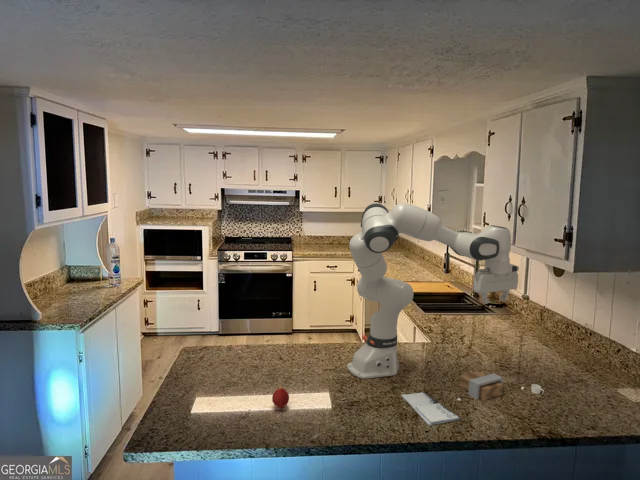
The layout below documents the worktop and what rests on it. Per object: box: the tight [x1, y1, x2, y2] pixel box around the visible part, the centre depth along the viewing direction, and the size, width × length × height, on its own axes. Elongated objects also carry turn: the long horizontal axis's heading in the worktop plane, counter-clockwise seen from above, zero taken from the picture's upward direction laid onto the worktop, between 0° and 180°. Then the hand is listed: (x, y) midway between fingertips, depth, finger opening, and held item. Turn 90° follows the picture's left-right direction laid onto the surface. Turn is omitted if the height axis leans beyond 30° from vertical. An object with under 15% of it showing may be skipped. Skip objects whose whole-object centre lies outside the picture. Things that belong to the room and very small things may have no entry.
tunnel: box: [468, 373, 504, 400], centre depth 152 cm, size 12×4×6 cm, turn 115°
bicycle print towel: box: [401, 391, 463, 426], centre depth 146 cm, size 19×20×2 cm
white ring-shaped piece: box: [520, 383, 545, 395], centre depth 153 cm, size 9×8×4 cm
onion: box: [271, 386, 290, 410], centre depth 144 cm, size 6×6×8 cm
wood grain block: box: [459, 370, 504, 401], centre depth 154 cm, size 9×12×4 cm
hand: (494, 302), depth 161 cm, fingers open, 8 cm apart
